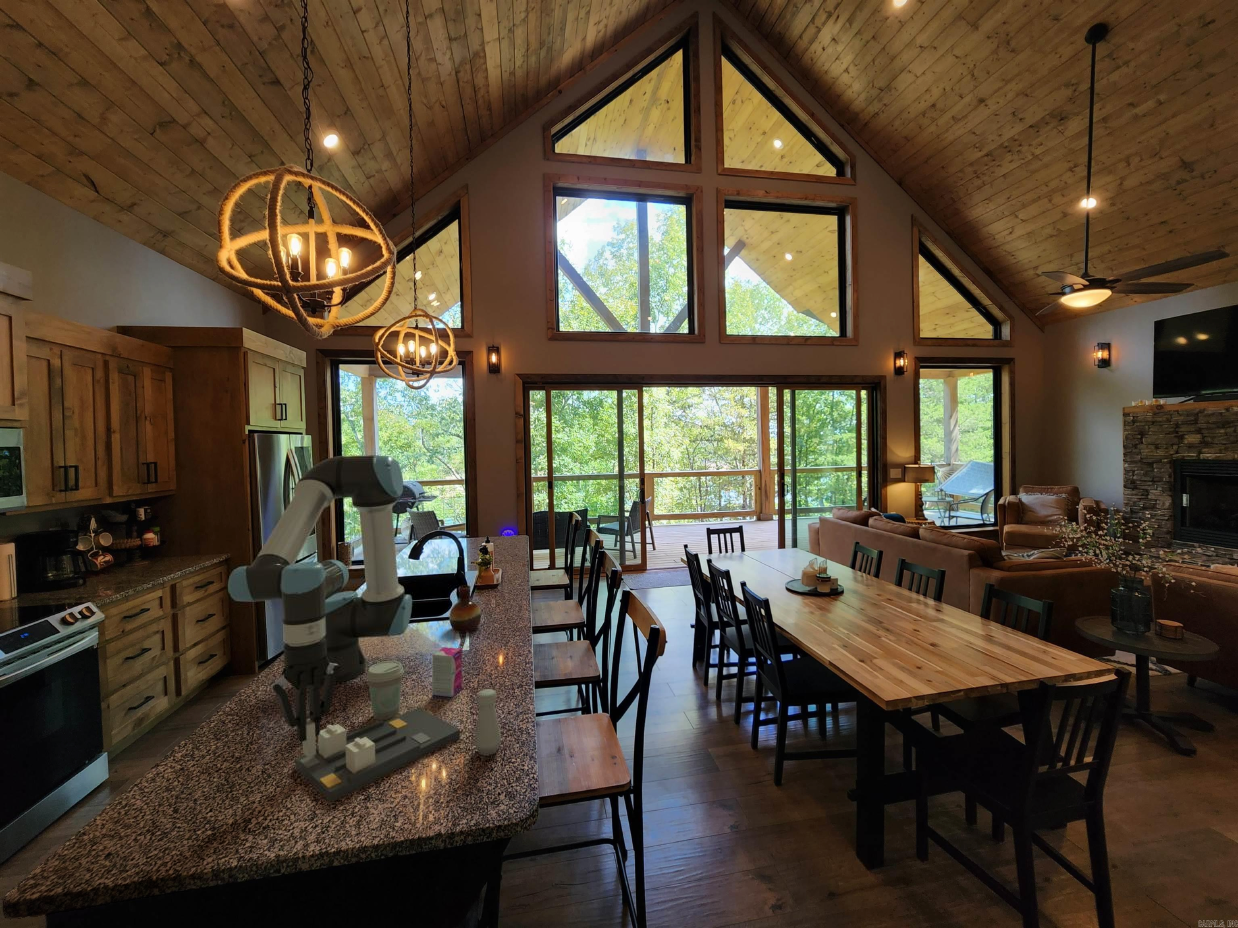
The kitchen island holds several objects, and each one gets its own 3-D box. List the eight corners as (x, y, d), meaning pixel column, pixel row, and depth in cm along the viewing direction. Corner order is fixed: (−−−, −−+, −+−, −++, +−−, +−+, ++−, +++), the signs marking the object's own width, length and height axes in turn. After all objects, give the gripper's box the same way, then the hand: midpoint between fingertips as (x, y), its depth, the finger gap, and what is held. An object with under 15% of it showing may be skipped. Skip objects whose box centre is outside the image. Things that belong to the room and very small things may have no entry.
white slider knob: (318, 752, 113) (317, 728, 113) (338, 744, 116) (337, 720, 116) (326, 759, 110) (325, 734, 110) (346, 750, 113) (345, 726, 113)
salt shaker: (477, 743, 119) (475, 686, 119) (503, 741, 120) (501, 684, 119) (472, 758, 113) (470, 698, 113) (499, 756, 114) (497, 697, 113)
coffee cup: (368, 726, 127) (366, 676, 127) (366, 710, 135) (365, 664, 134) (406, 717, 131) (405, 669, 131) (403, 702, 139) (401, 657, 138)
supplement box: (452, 698, 141) (451, 656, 140) (432, 697, 142) (430, 654, 141) (463, 689, 146) (462, 647, 146) (443, 687, 147) (442, 646, 147)
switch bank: (295, 768, 111) (295, 755, 111) (420, 714, 132) (419, 703, 132) (330, 802, 100) (330, 787, 100) (460, 738, 122) (459, 725, 121)
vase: (476, 633, 189) (475, 590, 189) (445, 634, 189) (444, 591, 189) (484, 623, 200) (483, 582, 200) (455, 623, 201) (454, 583, 200)
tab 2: (346, 767, 108) (345, 741, 107) (366, 758, 111) (365, 733, 110) (355, 774, 105) (354, 748, 105) (375, 765, 108) (374, 739, 108)
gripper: (275, 654, 101) (280, 775, 102) (346, 634, 111) (350, 745, 112) (262, 645, 106) (266, 761, 107) (331, 627, 116) (334, 733, 117)
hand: (309, 753), depth 110 cm, fingers closed
